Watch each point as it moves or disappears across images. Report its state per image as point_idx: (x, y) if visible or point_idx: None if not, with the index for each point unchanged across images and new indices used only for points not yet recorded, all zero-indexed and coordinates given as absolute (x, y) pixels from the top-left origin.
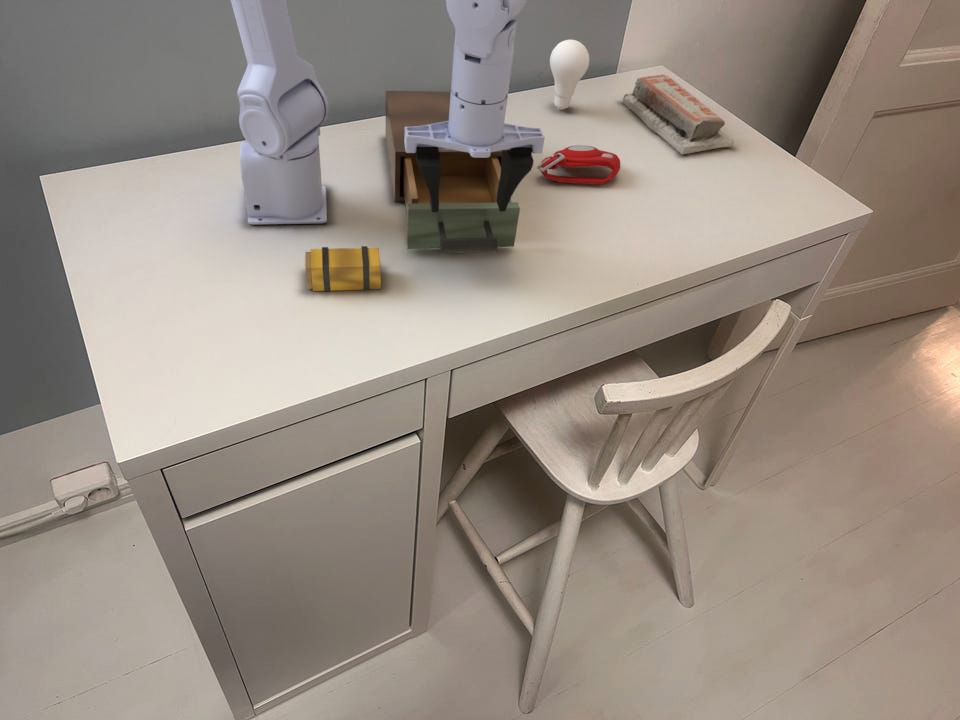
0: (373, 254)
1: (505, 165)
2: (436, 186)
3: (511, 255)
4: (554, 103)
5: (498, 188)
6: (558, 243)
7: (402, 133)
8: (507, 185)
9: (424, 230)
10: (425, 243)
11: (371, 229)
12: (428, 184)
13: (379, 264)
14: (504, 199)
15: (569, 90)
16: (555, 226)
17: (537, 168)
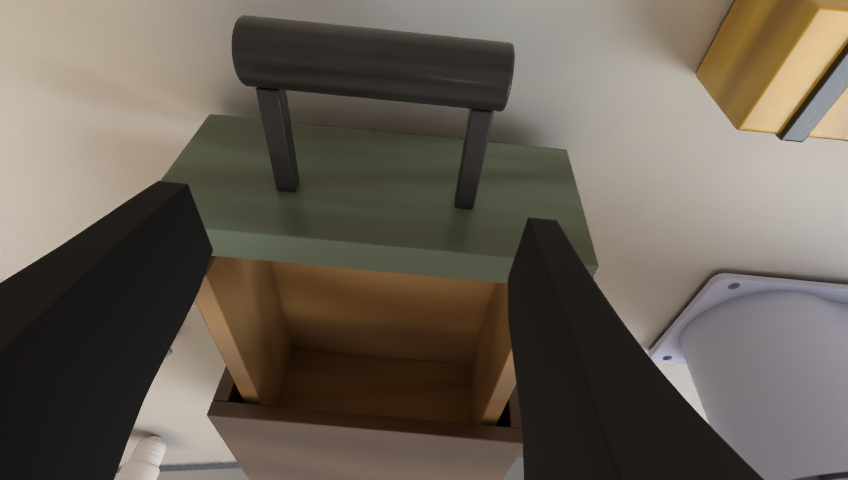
0: (789, 89)
1: (38, 474)
2: (603, 370)
3: (223, 88)
4: (164, 448)
5: (183, 309)
6: (72, 122)
7: (481, 473)
8: (30, 321)
9: (520, 191)
10: (510, 155)
11: (612, 241)
12: (675, 394)
13: (816, 16)
14: (119, 232)
15: (125, 475)
16: (100, 191)
17: (171, 350)
